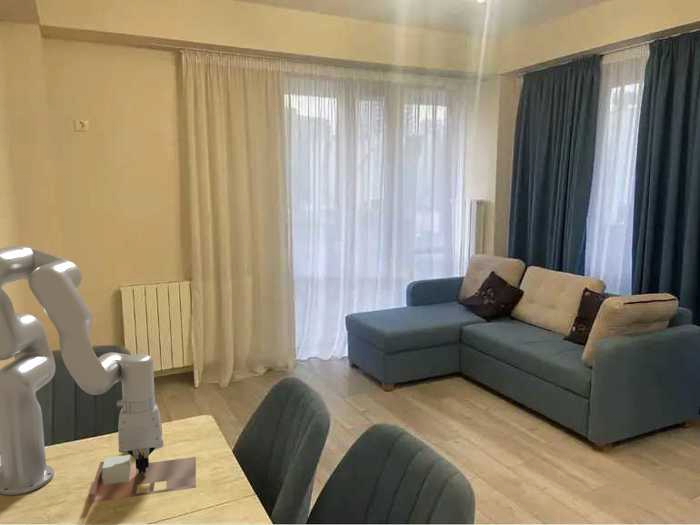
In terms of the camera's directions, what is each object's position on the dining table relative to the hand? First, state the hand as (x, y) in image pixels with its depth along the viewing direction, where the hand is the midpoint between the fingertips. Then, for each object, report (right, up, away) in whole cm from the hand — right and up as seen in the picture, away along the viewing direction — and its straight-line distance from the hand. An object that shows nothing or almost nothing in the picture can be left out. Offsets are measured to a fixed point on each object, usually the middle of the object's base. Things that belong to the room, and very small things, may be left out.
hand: (142, 470), depth 134 cm
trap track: (+2, -3, -2) cm, 4 cm away
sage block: (-6, -1, -2) cm, 6 cm away
